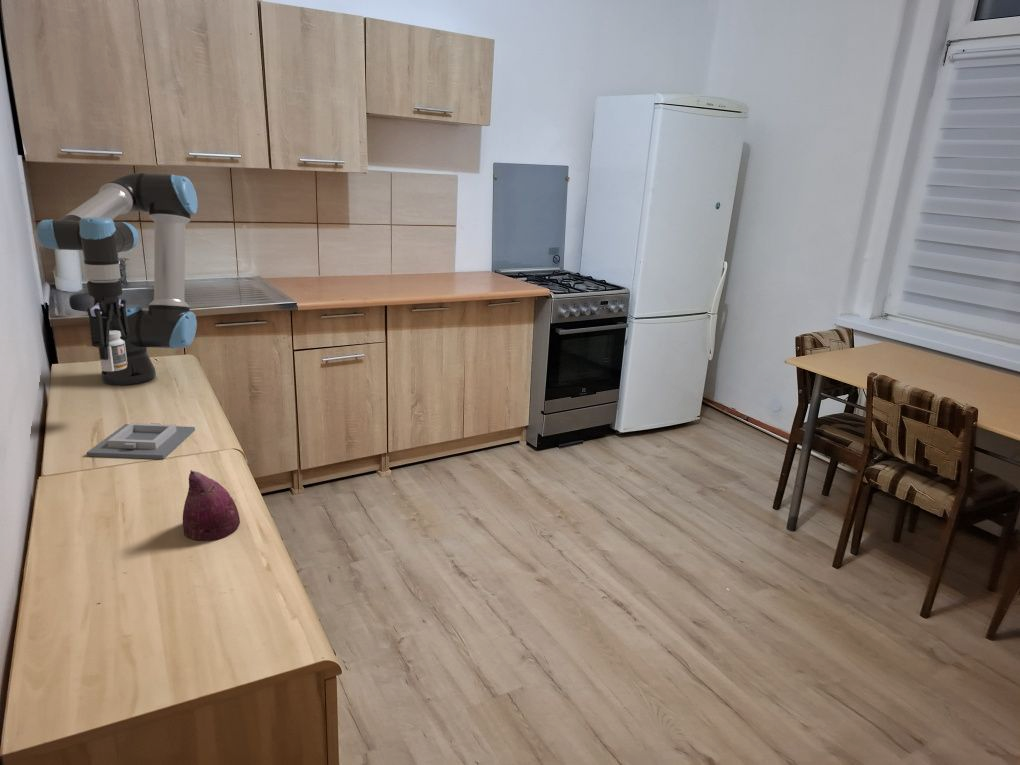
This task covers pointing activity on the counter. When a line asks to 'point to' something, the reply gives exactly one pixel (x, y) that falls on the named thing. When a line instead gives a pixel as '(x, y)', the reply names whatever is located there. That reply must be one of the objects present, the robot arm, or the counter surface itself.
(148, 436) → the socket
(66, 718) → the counter surface
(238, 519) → the vegetable
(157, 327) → the robot arm
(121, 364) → the pill bottle
